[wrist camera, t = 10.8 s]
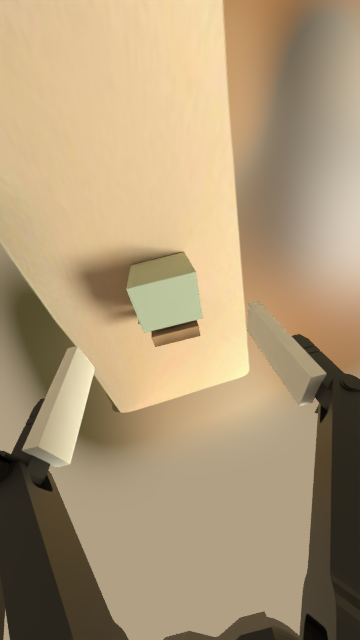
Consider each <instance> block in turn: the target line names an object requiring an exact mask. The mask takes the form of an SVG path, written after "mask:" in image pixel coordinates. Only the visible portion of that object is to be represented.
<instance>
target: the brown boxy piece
mask: <svg viewBox="0 0 360 640" xmlns="http://www.w3.org/2000/svg"><path fill="white" fill-rule="evenodd" d="M197 336H200V331H199V326H198V323H197V321H196V320H194V321H190V322H186V323H182V324H178V325H174V326H170V327H166V328H162V329H158V330H154V331H152V340H153V342H154V345H155V347H157V346H161V345H165V344H169V343H173V342H177V341H181V340H185V339H189V338H193V337H197Z"/></svg>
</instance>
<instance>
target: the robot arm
mask: <svg viewBox="0 0 360 640" xmlns="http://www.w3.org/2000/svg"><path fill="white" fill-rule="evenodd" d="M247 331H248V332H249V334H250V336H251V337H252V338H253V340H254V341H255V342H256V344H257V346H258V347H259V349H260V350H261V352H262V353H263V354H264V356H265V357H266V359H267V360H268V362H269V363H270V365H271V366H272V367H273V369H274V370H275V372H276V373H277V375H278V376H279V378H280V379H281V381H282V382H283V384H284V385H285V386H286V388H287V389H288V391H289V392H290V394H291V395H292V396H293V398H294V400H295V401H296V402H297V404H298V405H299V406H302V405H306V404H309V403H312V402H313V400H314V398H316V399H317V400H318V402H319V405H318V407H317V409H316V411H315V413H318V423H317V438H316V453H315V469H314V484H313V499H312V514H311V529H310V545H309V560H308V570H307V575H306V578H305V582H304V587H303V596H302V610H301V623H300V624H301V625H300V636H299V635H298V634H297V633H295V632H294V631H293V630H292V629H291V628H290V627H288V626H287V625H285V624H284V623H282V622H280V621H278V620H276V619H273V618H269V617H266V614H265V612H261V613H256V614H253V615H249V616H245V617H241V618H239V619H238V620H237V621H236V622H235V623H233V625H231V626H230V627H229V628H228V629H227V630H225V632H223V633H222V634H221V635H220V636H218V637H211V636H207V635H203V634H199V633H195V632H191V631H188V632H184V633H180V634H176V635H172V636H169V637H166V638H164V640H360V379H359V378H357V377H355V376H353V375H350V374H345V373H343V372H342V371H341V370H340V369H339V368H338V367H337V366H336V365H335V364H334V363H333V362H332V361H330V359H328V358H327V357H326V356H325V355H324V354H323V353H322V352H320V350H319V349H318V348H317V347H316V346H314V344H313V343H312V342H311V341H310V340H309V339H307V338H305V337H304V336H302V335H300V334H298V335H294V336H291V335H290V334H289V333H288V332H287V331H286V330H285V329H284V328H283V327H282V326H281V325H280V324H279V323H278V322H277V320H276V319H275V318H274V317H273V316H272V315H271V314H270V313H269V312H268V311H267V310H266V309H265V308H264V307H263V306H262V305H261V304H260V303H259V302H258V301H257V302H253V303H249V304H248V324H247ZM94 370H95V368H94V367H93V365H92V364H91V363H90V361H89V360H88V359H87V357H86V356H85V355H84V353H83V352H82V351H81V349H80V348H79V347H78V346H75V347H72V348H68V349H67V351H66V354H65V356H64V358H63V360H62V362H61V365H60V367H59V369H58V371H57V373H56V376H55V378H54V380H53V382H52V385H51V387H50V389H49V391H48V393H47V396H46V398H44V399H40V401H39V402H38V403H37V404H36V406H35V407H34V408H33V410H32V412H31V414H30V417H29V419H28V421H27V423H26V426H25V427H24V429H23V431H22V433H21V435H20V437H19V439H18V441H17V443H16V445H15V447H14V450H13V452H12V454H9V453H7V452H5V451H0V640H3V635H4V618H5V609H6V616H7V622H8V629H9V636H10V640H128V638H127V636H126V634H125V632H124V631H123V630H122V628H120V627H119V626H118V625H117V624H116V623H115V622H114V620H113V619H112V617H111V615H110V612H109V610H108V608H107V605H106V603H105V600H104V598H103V596H102V593H101V591H100V589H99V587H98V584H97V582H96V579H95V577H94V574H93V572H92V570H91V567H90V565H89V562H88V560H87V558H86V555H85V553H84V551H83V548H82V546H81V544H80V541H79V539H78V536H77V534H76V532H75V529H74V527H73V525H72V522H71V520H70V517H69V515H68V513H67V510H66V508H65V505H64V503H63V501H62V498H61V496H60V493H59V491H58V489H57V486H56V484H55V482H54V479H53V477H52V474H51V473H50V472H49V471H48V469H49V466H50V465H53V466H55V467H60V466H65V465H69V464H70V463H71V459H72V455H73V451H74V448H75V444H76V440H77V436H78V432H79V428H80V424H81V420H82V416H83V413H84V409H85V405H86V401H87V397H88V394H89V389H90V386H91V382H92V378H93V374H94Z"/></svg>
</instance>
